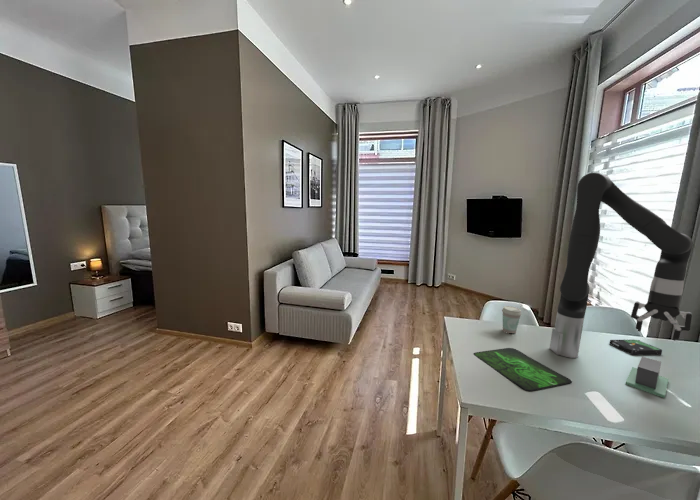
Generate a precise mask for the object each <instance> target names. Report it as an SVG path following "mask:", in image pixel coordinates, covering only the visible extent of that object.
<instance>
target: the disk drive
mask: <svg viewBox="0 0 700 500" xmlns="http://www.w3.org/2000/svg"><path fill="white" fill-rule="evenodd" d="M608 344H609V345H611V346H612V347H614V348H616V349H618V350H621V351H623V352H624V353H627V354H629V355H631V356H644V355H645V356H646V355H648V356H649V355H650V356H652V355H653V356H654V355H656V356H657V355H659V356H661V355H662V353H663V350H662V349H661V348H659V347H657V346H654V345H653V344H650V343H649V344H648V343H646V342H645V341H641V340H639V339H610V340H609V343H608Z"/></svg>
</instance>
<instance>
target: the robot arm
mask: <svg viewBox="0 0 700 500" xmlns="http://www.w3.org/2000/svg"><path fill="white" fill-rule="evenodd" d="M601 203H603V204H605V205H607V206H608V207H609V208H611V209H612V211H614V212H615V213H616V214H617V215H618V216H619V217H620V218H621V219H623V221H625V223H627V224H628V225H629V226H630V227H632V228H633V229H635V230H636V231H637V232H638V233H640V234H642V235H644V236H645V237H646V238H647V240H649V242H652V244H653V245H654V246H656V247H657V248H658V249H659V250H661V251H660V256H659V260H658V261H657V263H656V265H655V270H654V273H653V278H652V280H651V284H650V288H649V292H648V293H649V294H648V298H647V303H642V302H640V301H635V302H634V304H633V307H632V310H631V315H630V318H632V319H634V320H636V324H635V329H636V330H637V332H639V333H640V332H642V327H643V323H644V322H643V321H644V320H646V319H648V318H650V317H651V318H653V319H655V320H661V321H669V322H670V323H671V325H673V327H674V332H673V336H672V341H676V340H679V339H680V336H681V332H682V331H687V332H688V331H690V330H691V324H692V317H693V313H692V312H690V311H681V310H680V309H679V308H680V304H681V299H682V295H683V293H684V285H685V284H684V283H685V277H686V274H687V264H688V261H689V258H690V256H691V253H692V249H693V246H694V242H693V240H692V238H691V237H690V236H689V235H688V234H685V233H681V232H679V231H677V230H676V229H675V228H673V227H672V226H670V225H669V224H667V222H666V221H665V220H664V219H663V218H661V217H660V216H659V215H657V214H655V213H654V212H653V211H651V210H650V209H648V207H645V206H643V205H642V204H641V203H639V202H638V201H636V200H634V199H633V198H631V197H630V196H629V195H627V194H626V193H625V192H623V191H622V190H621V189H620V188H619V187H618V186H617V185H616V184H615V183H614V181H613V180H612V179H611V178H610V177H609V176H608V175H606V174H602V173H600V172H588V173H586V174H585V175H584V176H582V177H581V178H580V179H579V181H578V184H577V188H576V207H575V213H574V215H573V219H572V226H571V230H570V234H569V240H568V247H567V255H566V256H567V257H566V268H565V272H564V275H563V277H562V281H561V283H560V286H559V290H560V298H559V303H558V306H557V312H556V317H555V324H554V325H555V326H554V327H553V328H552V329H551V334H550V335H551V336H550V343H549V349H550V350H551V351H552V352H553V353H554V354H555V355H557V356H562V357H567V358H571V359H574V358H575V359H576V358H578V357H579V352H580V347H581V340H582V335H583V334H582V333H583V328H584V327H583V326H584V321H585V316H586V313H587V306H588V301H589V295H590V285H589V272H590V268H591V265H592V262H593V261H594V258H595V255H596V252H597V249H598V246H599V242H600V241H599V240H600V237H601V236H600V235H601V221H600V207H601ZM642 308H644V309H645V310H646V312H645V313H643V314H641V315H640V316H639V315H638V311H639V310H641V309H642ZM679 315H680V316H681V317H682V318H683V319H684V320H685V321H684V325H680V323H679V322H678V320H677V319H676V318H677V316H679Z"/></svg>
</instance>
